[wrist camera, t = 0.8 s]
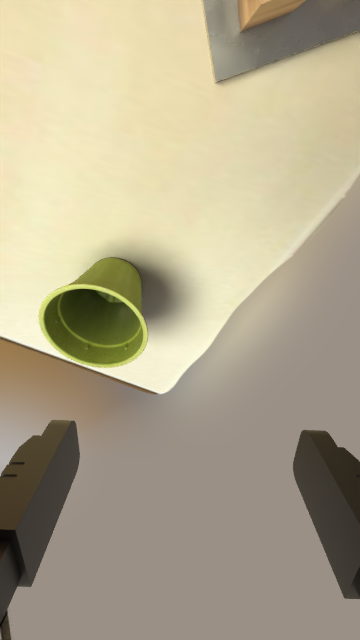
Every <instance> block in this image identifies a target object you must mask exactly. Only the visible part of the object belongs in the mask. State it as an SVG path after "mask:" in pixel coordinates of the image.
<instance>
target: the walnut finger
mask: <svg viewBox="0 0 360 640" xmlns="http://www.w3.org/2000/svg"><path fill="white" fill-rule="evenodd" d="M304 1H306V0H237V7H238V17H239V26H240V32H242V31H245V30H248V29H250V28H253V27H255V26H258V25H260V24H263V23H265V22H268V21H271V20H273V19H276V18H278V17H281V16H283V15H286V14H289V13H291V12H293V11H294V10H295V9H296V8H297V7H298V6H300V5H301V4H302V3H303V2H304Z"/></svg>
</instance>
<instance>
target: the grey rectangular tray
mask: <svg viewBox="0 0 360 640" xmlns="http://www.w3.org/2000/svg"><path fill="white" fill-rule="evenodd" d="M202 5H203V11H204V18H205V24H206V30H207V37H208V43H209V49H210V56H211V62H212V68H213V75H214V81H215V83H216V82H218V81H221V80H224V79H227V78H230V77H232V76H235V75H238V74H241V73H243V72H246V71H249V70H252V69H254V68H257V67H260V66H263V65H265V64H268V63H271V62H274V61H277V60H279V59H282V58H285V57H288V56H290V55H293V54H296V53H299V52H301V51H304V50H307V49H310V48H312V47H315V46H318V45H321V44H324V43H326V42H329V41H332V40H335V39H337V38H340V37H343V36H346V35H348V34H351V33H354V32H357V31H359V30H360V0H306V1H304V2H303V3H302V4H301V5H300V6H298V7H297V8H296V9H295V10H294V11H293V12H291V13H289V14H286V15H283V16H281V17H278V18H276V19H273V20H271V21H268V22H265V23H263V24H260V25H258V26H255V27H253V28H250V29H248V30H245V31H242V32H240V26H239V17H238V7H237V0H202Z"/></svg>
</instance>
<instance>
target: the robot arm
mask: <svg viewBox="0 0 360 640" xmlns="http://www.w3.org/2000/svg"><path fill="white" fill-rule="evenodd" d="M79 457H80V453H79V445H78V436H77V428H76V423H75V421H64V420H52V421H51V422H50V423H49V424H48V426H47V427H46V429H45V431H44V432H43V434H42V436H32V437H31V438H30V439H29V440H27V442H25V443H24V444H23V445H21V446H20V447H19V449H18V450H17V452H16V453H15V454H14V456H13V457H12V459H11V460H10V462H9V465H7V466H6V468H5V469H4V471H3V472H2V473H1V477H0V640H14V638H13V631H12V624H11V617H10V610H9V604H10V602H11V599H12V597H13V595H14V592H15V590H16V588H17V586H22V587H23V586H24V587H31V586H32V583H33V581H34V578H35V576H36V573H37V571H38V568H39V566H40V563H41V561H42V558H43V556H44V553H45V551H46V548H47V545H48V543H49V541H50V538H51V536H52V533H53V530H54V528H55V525H56V523H57V520H58V518H59V515H60V513H61V510H62V508H63V505H64V502H65V500H66V498H67V495H68V493H69V490H70V488H71V485H72V482H73V480H74V478H75V475H76V472H77V469H78V465H79ZM293 471H294V476H295V480H296V483H297V485H298V488H299V490H300V492H301V495H302V497H303V500H304V502H305V504H306V507H307V509H308V511H309V514H310V516H311V519H312V521H313V524H314V526H315V528H316V531H317V533H318V535H319V538H320V540H321V543H322V545H323V547H324V550H325V553H326V554H327V557H328V560H329V562H330V565H331V567H332V569H333V572H334V574H335V576H336V579H337V582H338V584H339V586H340V589H341V591H342V594H343V596H344V598H348V599H360V462H359V460H357V459H356V458H355V457H354V456H353V455H352V454H351V453H349V452H348V451H347V450H346V449H345V448H342V447H337V445H336V444H335V442H334V440H333V439H332V437H331V436H330V435H329V433H328V432H326V431H315V430H303V431H302V432H301V435H300V439H299V442H298V446H297V450H296V454H295V458H294V462H293Z"/></svg>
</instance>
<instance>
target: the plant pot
mask: <svg viewBox="0 0 360 640" xmlns="http://www.w3.org/2000/svg"><path fill="white" fill-rule="evenodd" d="M39 323H40V327H41V330H42V332H43V334H44V336H45V337H46V339H47V340H48V342H49V343H50V344H51V345H52V346H53V347H54V348H55V349H56V350H57V351H59V352H60V353H61V354H63V355H64V356H66V357H67V358H69V359H71V360H73V361H75V362H78V363H81V364H84V365H88V366H92V367H100V368H111V367H118V366H122V365H125V364H127V363H130V362H131V361H133V360H135V359H136V358H137V357H138V356H139V355H140V354H141V353H142V352H143V350H144V349H145V347H146V344H147V340H148V329H147V325H146V322H145V320H144V317H143V313H142V285H141V278H140V275H139V273H138V271H137V270H136V269H135V268H134V267H133V266H132V265H131V264H130V263H128V262H127V261H124V260H120V259H116V258H105V259H102V260H100V261H98V262H97V263H95V264H94V265H93V266H92V267H91V268H90V269H89V270H87V271H86V272H85V273H84V274H83V275H82V276H80V277H79V278H78V279H77V280H76V281H75V282H73V283H71V284H69V285H67V286H64V287H61V288H59V289H57V290H55V291H53V292H52V293H51V294H49V295H48V296H47V297H46V298H45V300H44V301H43V303H42V305H41V307H40V311H39Z"/></svg>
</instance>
